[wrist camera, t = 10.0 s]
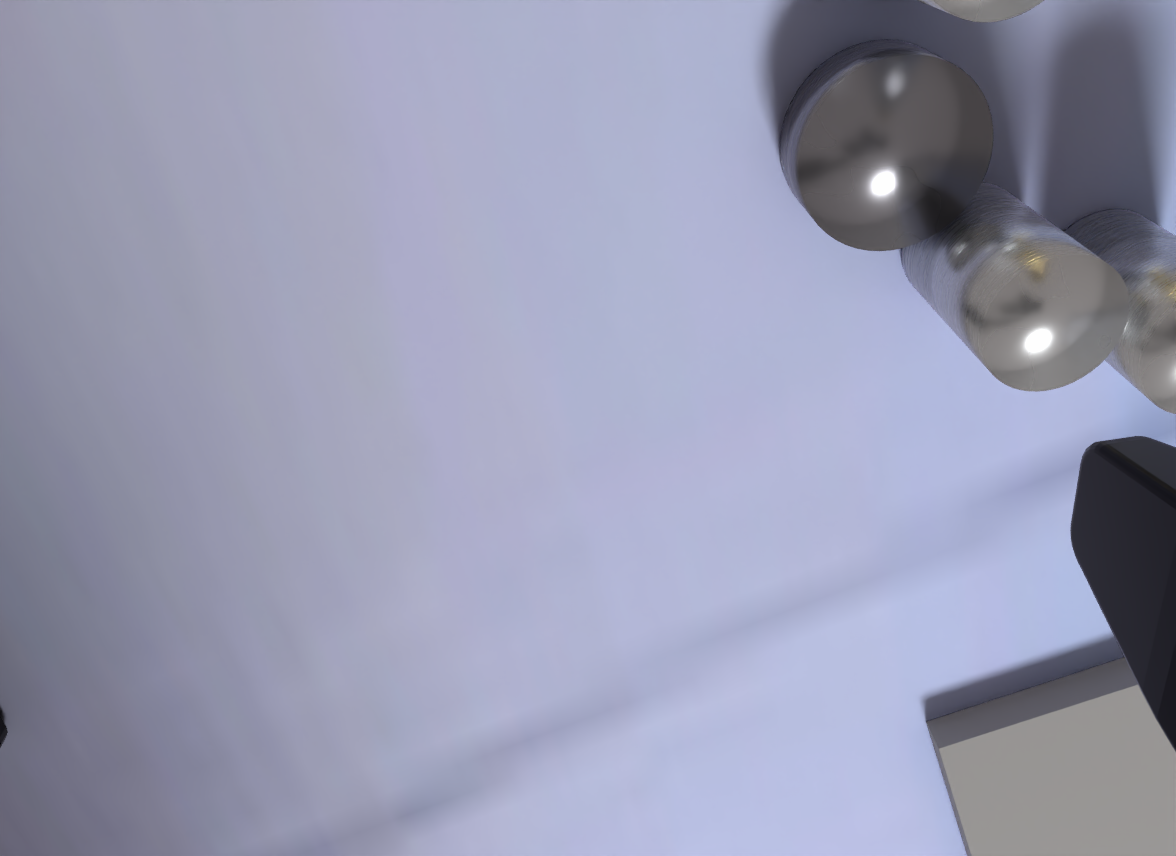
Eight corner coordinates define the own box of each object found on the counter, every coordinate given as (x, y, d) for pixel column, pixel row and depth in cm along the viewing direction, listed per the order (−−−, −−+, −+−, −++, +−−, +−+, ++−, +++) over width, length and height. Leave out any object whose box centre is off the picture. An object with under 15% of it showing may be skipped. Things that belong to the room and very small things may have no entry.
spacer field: (784, 367, 22) (837, 466, 19) (773, -164, 17) (843, -160, 14) (1149, 315, 22) (1268, 404, 19) (1250, -230, 17) (1439, -243, 14)
